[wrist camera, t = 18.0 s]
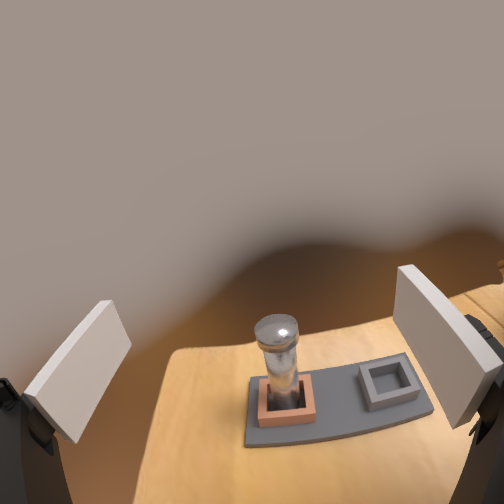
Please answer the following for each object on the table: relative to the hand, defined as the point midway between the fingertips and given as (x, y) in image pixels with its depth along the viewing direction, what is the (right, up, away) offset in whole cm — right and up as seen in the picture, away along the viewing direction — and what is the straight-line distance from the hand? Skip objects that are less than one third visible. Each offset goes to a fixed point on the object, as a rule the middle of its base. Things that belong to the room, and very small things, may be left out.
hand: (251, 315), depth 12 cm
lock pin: (+5, -20, +26) cm, 33 cm away
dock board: (+13, -21, +25) cm, 35 cm away
